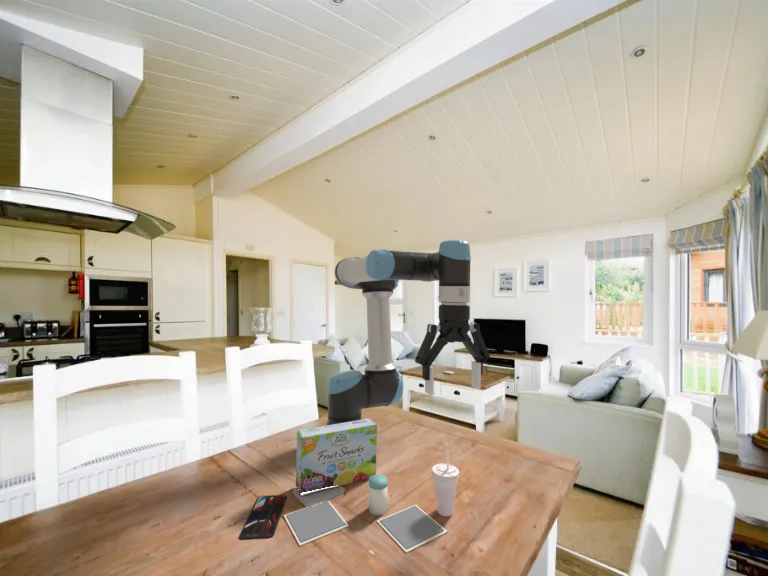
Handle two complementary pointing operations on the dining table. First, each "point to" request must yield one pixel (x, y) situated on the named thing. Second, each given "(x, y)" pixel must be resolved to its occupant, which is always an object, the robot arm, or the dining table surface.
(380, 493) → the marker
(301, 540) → the plate
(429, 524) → the mat drink
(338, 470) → the snack box
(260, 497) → the smartphone
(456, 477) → the smoothie
